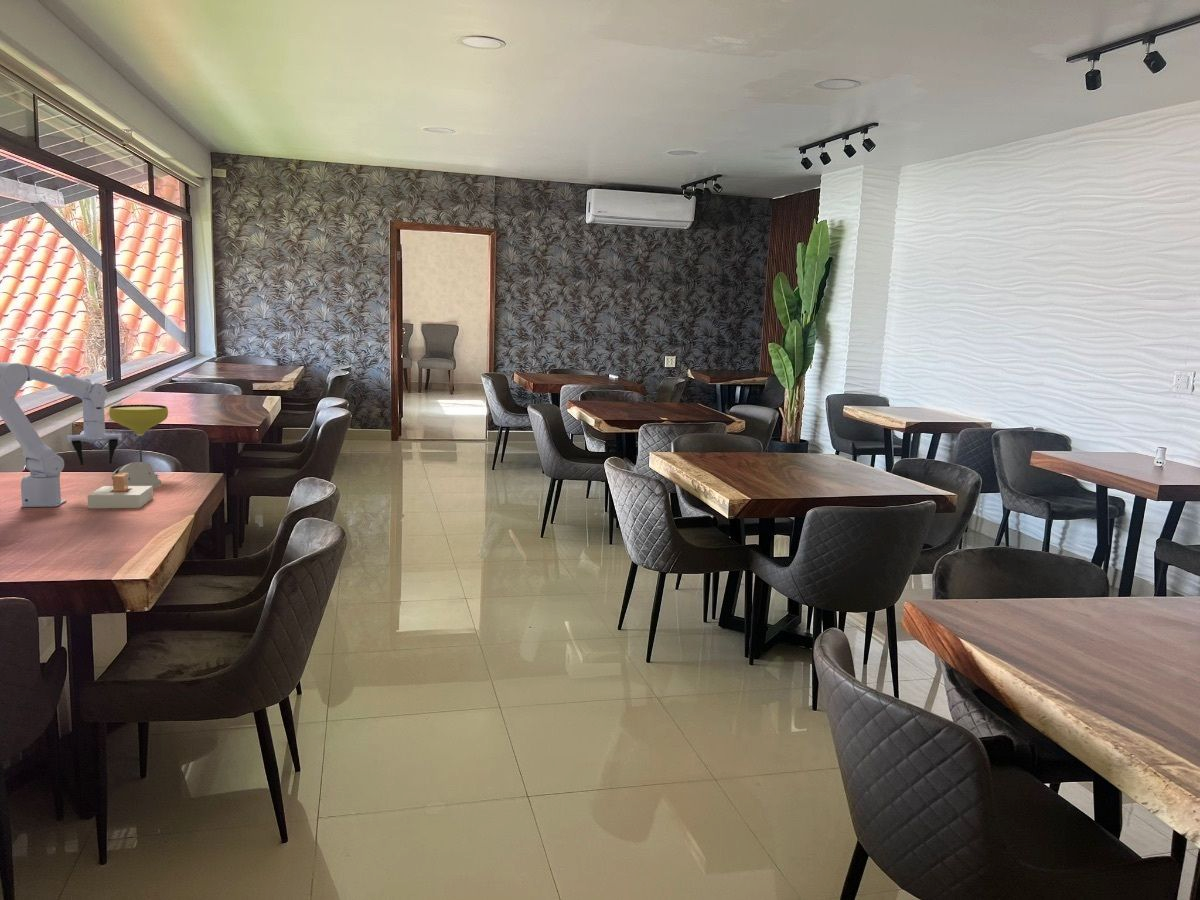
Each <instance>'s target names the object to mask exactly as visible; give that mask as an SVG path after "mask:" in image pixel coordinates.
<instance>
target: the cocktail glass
mask: <svg viewBox="0 0 1200 900" xmlns="http://www.w3.org/2000/svg"><path fill="white" fill-rule="evenodd" d="M168 415H169V410H168V407H167V406H165V405H162V404H161V405H159V404H124V405H123V404H122V405H113V406H110V407H109V418H110V419H111V421H113V422H115V423H116V424H118V425H120V426H122V427H126V428H128V429H129V430H132V431H133V432H134V433H135V435H136V436H138V442H139V443H138V444H139V445H138V446H139V447H138V448H139V462H143V451H142V436H144V434H145V433H146V432H147V431H148V430H150V429H151V428H152V427H155V426H157V425H159V424H161V423H163V422H164V421H165V420H166V419H167V418H168ZM155 475H156V477H157V476H159V474H156V473H155ZM157 478H158V477H157Z"/></svg>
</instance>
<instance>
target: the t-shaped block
mask: <svg viewBox="0 0 1200 900" xmlns="http://www.w3.org/2000/svg"><path fill="white" fill-rule="evenodd" d="M128 476H129V473H117V474H115V475H113V476H111V480H112V486H113V492H128Z"/></svg>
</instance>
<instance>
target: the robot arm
mask: <svg viewBox="0 0 1200 900" xmlns="http://www.w3.org/2000/svg"><path fill="white" fill-rule="evenodd" d="M32 381H36V382H40V383H43V384H48V385H51V386H54V387H56V388H57V390H58V391H59V392H60V393H62V394H66V395H67V394H68V395H69V396H74V397H77V398H79V399H81V400H82V401H81V402H82V416H83V417H82V419H83V420H82V421H83V434H71V435H70V434H68V435H67V438H66V440H67V443H71V444H72V446H73V449H75V451H76V453H77V456H78V459H79V464H80V466H83V465H84V457H83V447H82V442H102V441H103V442H104V441H105V442H106V441H107V444H108V445H107V446H108V464H112V463H113V457H114V453H115V451H116V449H117V446H118V445H119V441H123V436H122V433H106V420H105V419H106V418H105V403H106V402H105V401H106V399H107V397H108V395H109V392H108V391H107V390H106V387H105V386H104V385H103V384H102V383H97V382H91V379H88V378H80V377H78V376H77V374H74V373H65V374H61V375H59V374H55V373H52V372H50V371H46V370H44V369H42V368H39V367H35V366H32V365H26V364H21V363H20V362H19V363H18V362H4V361H0V417H1V419H2V421H3V423H5V425H6V427H7V428H8V429H9V431H10V432H11V434H12V435H13V436H14V438H15V439H16V441H17V443H18V444H19V445H20V447H21V448H22V450H23V452H22V453H21V456H22V458H23V460H24V466H25V468H26V470H28V471H29V472H30V473H29V475H25V476H23V477H22V478H21V481H20V494H21V495H20V496H21V505H20V507H21V508H31V507H32V508H33V507H34V508H36V507H37V508H38V507H39V508H41V507H42V508H46V507H47V508H49V507H53V508H54V507H55V508H56V507H58V506H60V505H62V504H63V503H65V502H67V499H62V493H61V478H60V476H61V473H62V471H63V470H64V468H65V461H64V459H63V457H62V456H60V455H58V454H57V453H56V452H54V450H53V449H52V448H51V447H50V446H48V445H47V444H46V443H44V442H43V441H44V440H42V438H41V436H40V435H39V434H38V432H37V431H36V429H35V427H34V426H33V424H32V423H31V421H30V420H29V419H28V417H27V416H26V414H25V413H24V411H23V410H22V408H21V407H20V405H19V403H18V401H16V399H15V398H16V395H17V393H18V392H20V390H21V388H22V387H23V386H24V385H25V384H26V383H27V382H32Z"/></svg>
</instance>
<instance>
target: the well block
mask: <svg viewBox="0 0 1200 900" xmlns="http://www.w3.org/2000/svg"><path fill="white" fill-rule="evenodd" d="M153 490H154V488H153V486H128V492H113V485H104V486H100V487H99V488H97V489H95V490H94V491H93V492H90V493H89V494H87V509H140V507H141V508H142V507H143V506H145V505H146V504H147V503H149V502H150V501H152V500H153V499H152V498H154V491H153ZM148 501H149V502H148ZM144 504H145V505H144Z"/></svg>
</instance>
